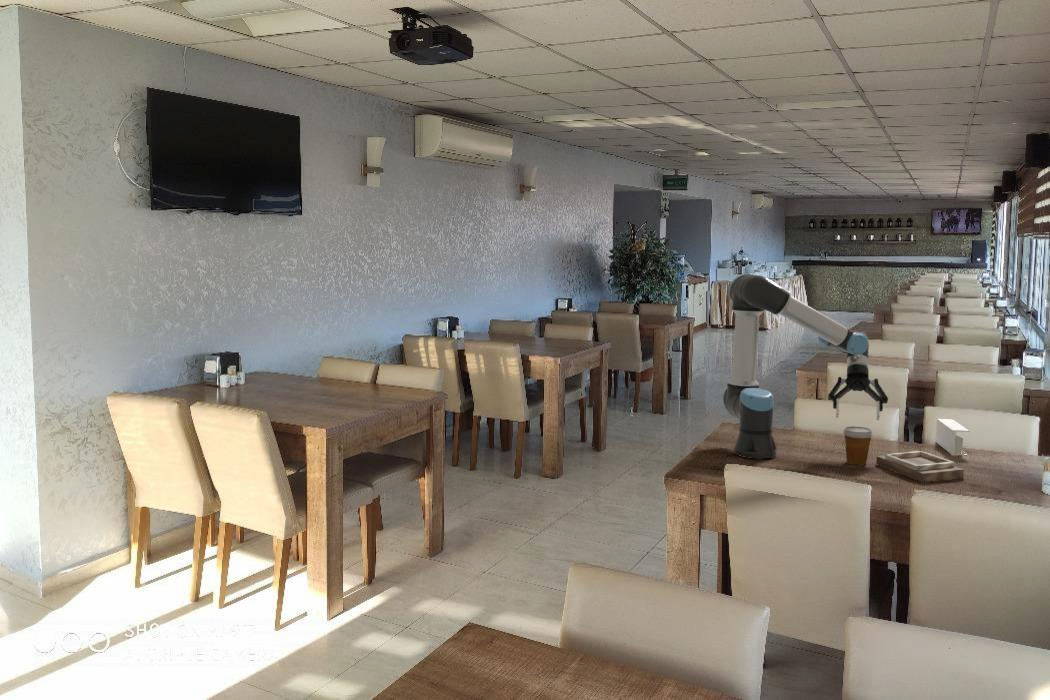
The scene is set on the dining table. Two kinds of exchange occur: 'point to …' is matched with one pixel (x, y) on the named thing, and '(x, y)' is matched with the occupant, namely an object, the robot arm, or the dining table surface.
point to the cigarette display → (949, 435)
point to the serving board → (921, 466)
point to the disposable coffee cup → (857, 444)
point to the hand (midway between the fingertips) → (857, 416)
